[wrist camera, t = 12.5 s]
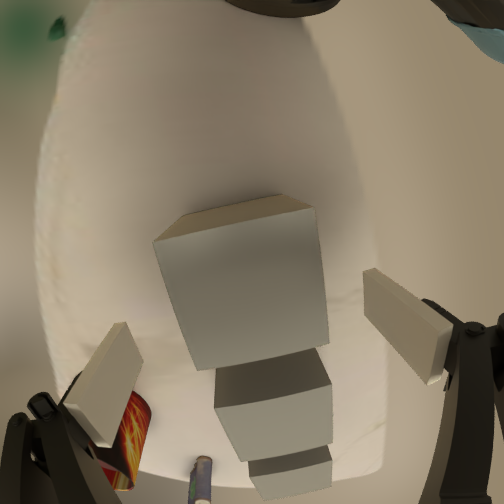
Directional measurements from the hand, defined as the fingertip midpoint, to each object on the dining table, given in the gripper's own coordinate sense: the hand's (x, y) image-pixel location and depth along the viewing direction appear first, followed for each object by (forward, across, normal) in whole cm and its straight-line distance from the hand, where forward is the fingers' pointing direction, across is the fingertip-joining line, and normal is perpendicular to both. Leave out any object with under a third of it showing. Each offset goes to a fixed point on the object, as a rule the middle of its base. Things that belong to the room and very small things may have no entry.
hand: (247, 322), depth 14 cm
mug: (+13, -21, -15) cm, 29 cm away
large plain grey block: (+12, 0, -26) cm, 28 cm away
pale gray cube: (+12, 0, -13) cm, 18 cm away
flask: (+13, -15, -35) cm, 40 cm away
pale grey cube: (+12, 0, 0) cm, 12 cm away
